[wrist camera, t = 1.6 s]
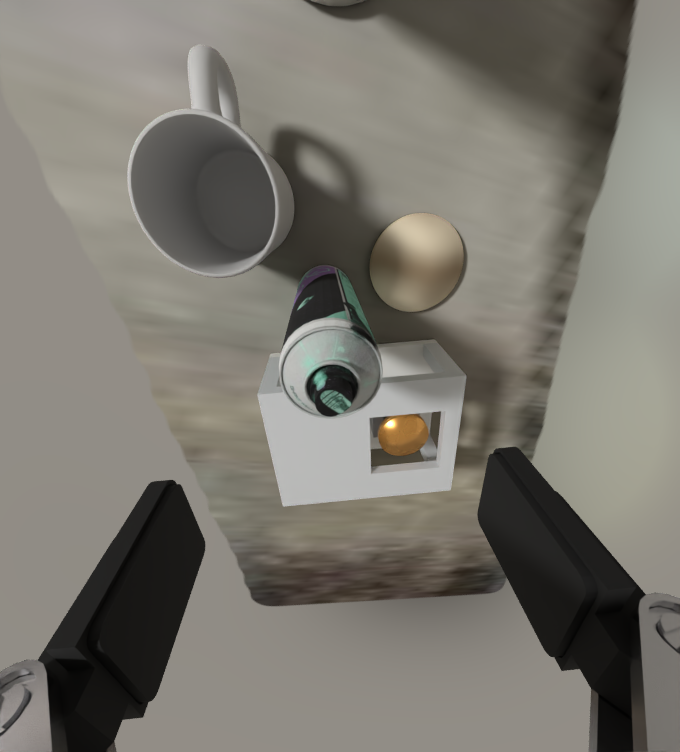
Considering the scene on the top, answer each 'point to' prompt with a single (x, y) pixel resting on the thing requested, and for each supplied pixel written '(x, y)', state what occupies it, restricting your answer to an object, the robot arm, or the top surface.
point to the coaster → (416, 262)
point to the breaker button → (402, 434)
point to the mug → (208, 180)
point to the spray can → (329, 348)
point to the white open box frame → (366, 431)
